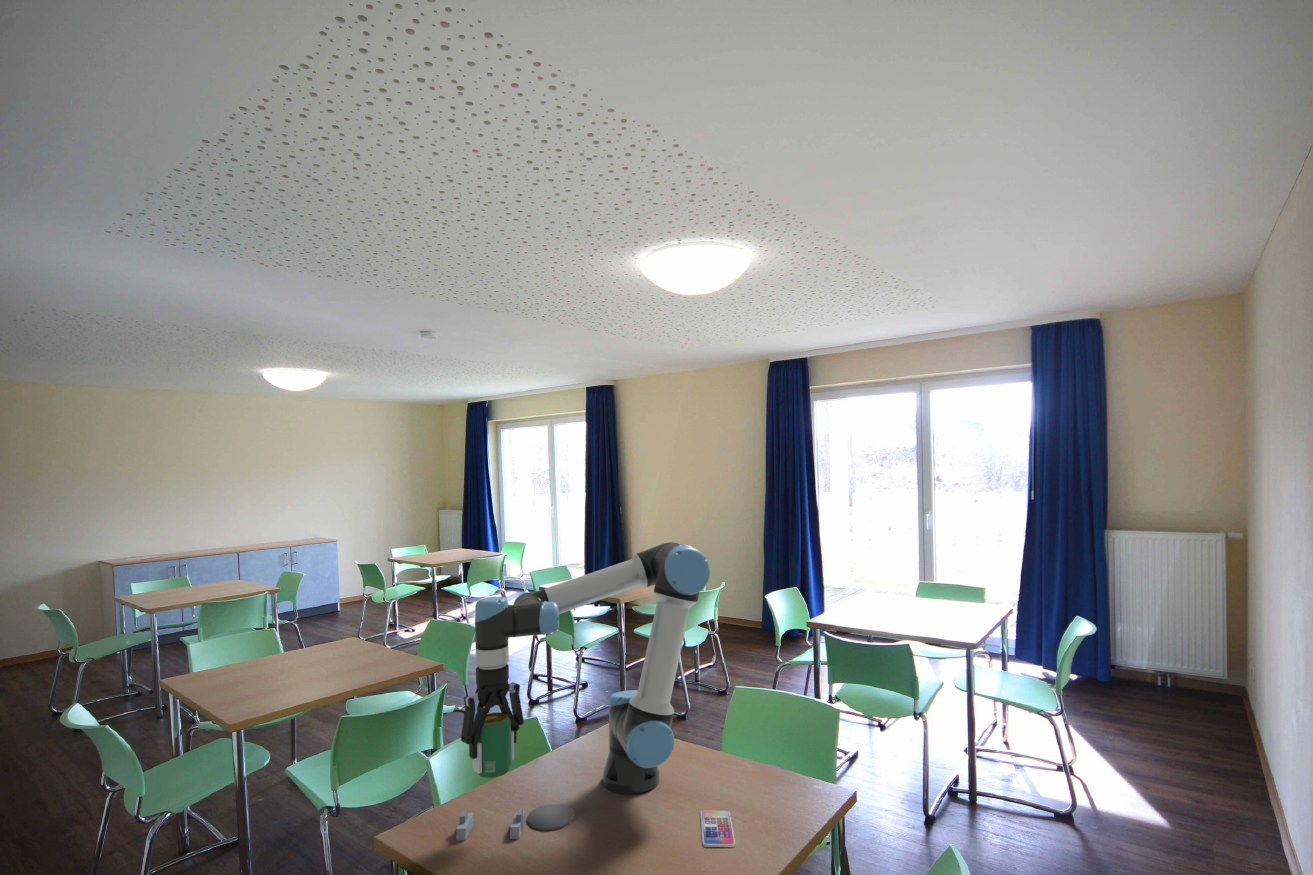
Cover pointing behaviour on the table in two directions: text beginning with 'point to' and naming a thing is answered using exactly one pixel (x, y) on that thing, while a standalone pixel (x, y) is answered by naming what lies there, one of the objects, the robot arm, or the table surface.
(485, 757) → the beverage can
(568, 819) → the coaster
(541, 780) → the table surface
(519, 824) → the twin notched blocks
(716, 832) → the smartphone
